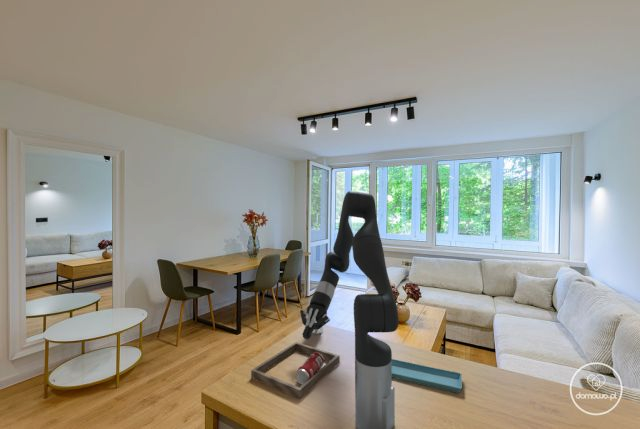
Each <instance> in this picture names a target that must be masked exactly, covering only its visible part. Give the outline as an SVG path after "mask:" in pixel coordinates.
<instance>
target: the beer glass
mask: <svg viewBox="0 0 640 429" xmlns="http://www.w3.org/2000/svg"><path fill="white" fill-rule="evenodd" d="M311 299H312V296H311V297H309V299H308V306H309V305H310V301H311ZM323 327H324V326H322V327H321V328H320V329H318V330H317V329H314V330H313V332H312V334H313V335H319V334H322V333H323V332H324V328H323Z"/></svg>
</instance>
